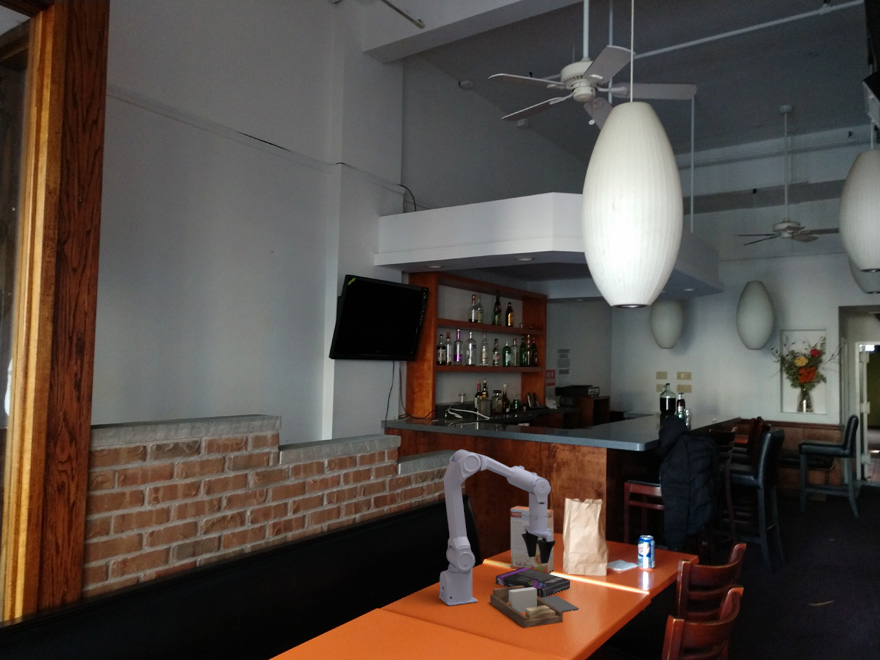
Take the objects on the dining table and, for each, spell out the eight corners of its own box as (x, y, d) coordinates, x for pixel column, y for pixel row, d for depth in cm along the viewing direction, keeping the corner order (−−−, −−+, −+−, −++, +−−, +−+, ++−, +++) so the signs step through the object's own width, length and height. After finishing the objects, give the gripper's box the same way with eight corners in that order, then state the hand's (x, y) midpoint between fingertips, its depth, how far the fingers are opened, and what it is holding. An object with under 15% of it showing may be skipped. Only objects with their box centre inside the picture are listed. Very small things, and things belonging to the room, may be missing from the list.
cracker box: (554, 570, 231) (554, 509, 233) (547, 575, 226) (547, 512, 228) (517, 564, 239) (517, 504, 240) (510, 568, 234) (510, 507, 235)
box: (495, 586, 217) (543, 600, 202) (495, 575, 217) (542, 588, 203) (523, 577, 226) (571, 589, 212) (523, 566, 226) (570, 578, 212)
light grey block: (512, 614, 189) (512, 592, 190) (508, 611, 191) (508, 590, 191) (536, 610, 192) (536, 589, 193) (533, 608, 194) (533, 587, 194)
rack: (524, 627, 179) (524, 612, 179) (490, 603, 198) (490, 589, 198) (562, 621, 183) (562, 606, 183) (525, 598, 202) (525, 584, 202)
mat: (551, 613, 189) (551, 612, 189) (530, 600, 200) (530, 599, 201) (578, 609, 193) (578, 608, 193) (556, 596, 204) (556, 595, 204)
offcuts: (527, 625, 180) (527, 611, 180) (522, 622, 183) (522, 608, 183) (556, 621, 183) (556, 607, 184) (551, 618, 186) (551, 604, 186)
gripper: (561, 519, 204) (562, 564, 203) (537, 510, 217) (537, 553, 217) (541, 520, 201) (541, 567, 200) (518, 511, 215) (518, 555, 214)
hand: (538, 559), depth 208 cm, fingers open, 7 cm apart
